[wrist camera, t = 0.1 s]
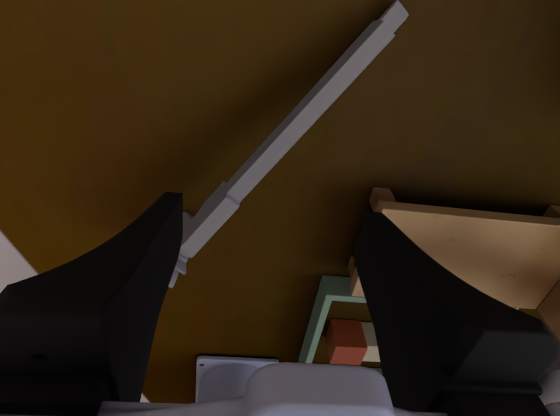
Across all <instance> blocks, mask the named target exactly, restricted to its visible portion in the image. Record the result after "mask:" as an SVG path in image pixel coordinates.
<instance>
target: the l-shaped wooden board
mask: <svg viewBox="0 0 560 416" xmlns="http://www.w3.org/2000/svg"><path fill="white" fill-rule="evenodd" d="M369 202H370V204H371V207H372V209H373V212H382V213H383V214H384V215H385V216H386V217H387V218H389V219H390V220H391V221H392V222H393V223H394V224H395V225H396V226H397V227H398V228H399V229H400V230H401V231H402V232H403V233H404V234H405V235H406V236H407V237H409V238H410V239H411V240H412V241H413V242H414V243H415V244H416V245H417V246H418V247H420V248H421V249H422V250H423V251H424V252H425V253H427V254H428V255H429V256H430V257H431V258H433V259H434V260H435V261H436V262H438V263H439V264H440V265H441V266H443V267H444V268H446V269H447V270H448V271H450V272H451V273H453V274H454V275H456V276H457V277H459V278H460V279H462V280H463V281H465V282H466V283H468V284H470V285H471V286H473V287H475V288H476V289H478V290H480V291H481V292H483V293H485V294H487V295H489V296H490V297H492V298H494V299H496V300H498V301H500V302H502V303H504V304H506V305H508V306H510V307H516V308H530V309H536V308H537V306H538V305H539V304H540V303H541V301H542V300H543V299H544V297H545V296H546V295H547V294H548V292H549V291H550V290H551V289H552V287H553V286H554V285H555V284H556V282H557V281H558V280H559V279H560V206H554V205H550V206H549V207H548V209H547V210H546V212H545V213H544V215H543V216H542V217H541V216H531V215H521V214H511V213H501V212H491V211H481V210H471V209H461V208H451V207H440V206H430V205H420V204H410V203H400V202H396V200H395V198H394V196H393V194H392V192H391V190H390V189H388V188H379V187H373V190H372V193H371V196H370V199H369ZM347 267H348V271H349V274H350V278H351V282H350V285H349V288H350V292H351V296H358V297H365V296H364V293H363V290H362V286H361V283H360V280H359V276H358V273H357V268H356V262H355V256H351V257H350V260H349V263H348V266H347ZM537 311H538V312H539V313H540V315H541V316H542V317H543V319H544V320H545V321H546V323H547V324H548V325H549V327H550V328H551V329H552V331H553V332H554V333H555V334H556V336H557V337H558V338H559V340H560V280H559V282H558V283H557V284H556V285H555V287H554V288H553V289H552V290H551V292H550V293H549V294H548V296H547V297H546V298H545V299H544V301H543V302H542V303H541V304H540V306H539V307H538V308H537Z"/></svg>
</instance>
